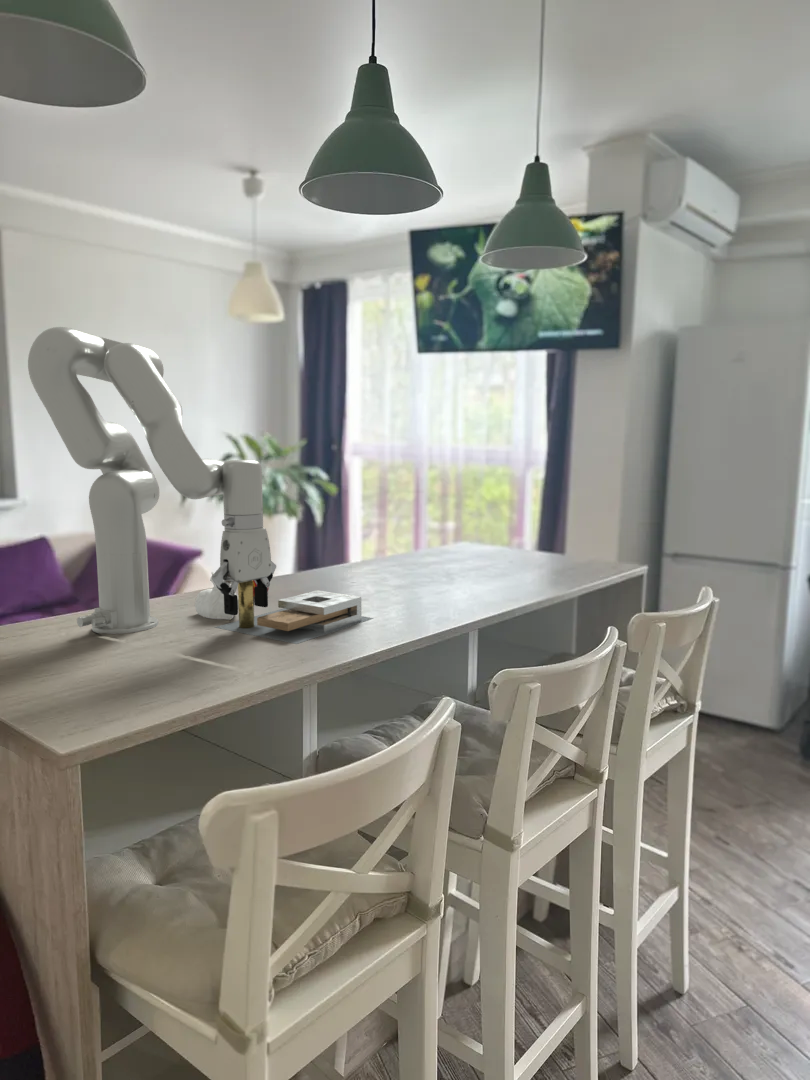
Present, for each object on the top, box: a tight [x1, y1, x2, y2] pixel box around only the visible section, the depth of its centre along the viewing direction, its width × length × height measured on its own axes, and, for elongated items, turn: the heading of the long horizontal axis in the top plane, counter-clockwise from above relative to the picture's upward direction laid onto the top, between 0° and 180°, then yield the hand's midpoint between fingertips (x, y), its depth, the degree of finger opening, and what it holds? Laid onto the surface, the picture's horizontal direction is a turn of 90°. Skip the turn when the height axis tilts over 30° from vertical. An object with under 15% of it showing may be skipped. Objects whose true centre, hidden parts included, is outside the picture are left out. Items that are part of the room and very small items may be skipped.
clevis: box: [257, 590, 362, 633], centre depth 152 cm, size 20×12×5 cm, turn 146°
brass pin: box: [237, 580, 255, 628], centre depth 152 cm, size 3×3×10 cm
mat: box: [214, 608, 375, 645], centre depth 156 cm, size 24×22×1 cm
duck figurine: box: [194, 571, 239, 621], centre depth 162 cm, size 12×8×11 cm
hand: (246, 609), depth 152 cm, fingers open, 7 cm apart
